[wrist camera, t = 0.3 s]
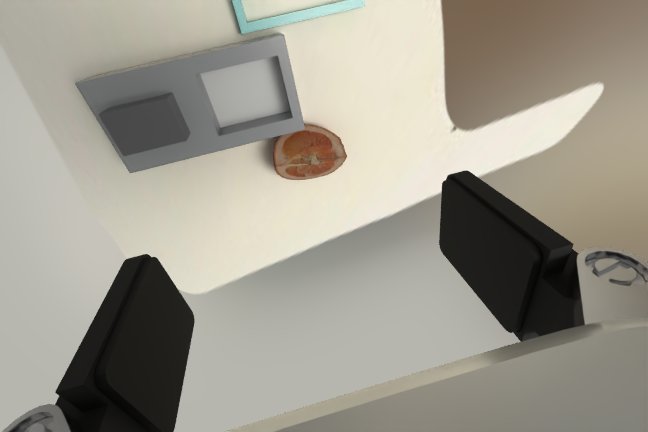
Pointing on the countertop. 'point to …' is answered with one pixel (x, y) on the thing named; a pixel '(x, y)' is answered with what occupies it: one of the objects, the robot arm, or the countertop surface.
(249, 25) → the tray frame
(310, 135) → the fruit slice
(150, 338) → the robot arm
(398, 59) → the countertop surface
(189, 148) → the grey slotted holder
